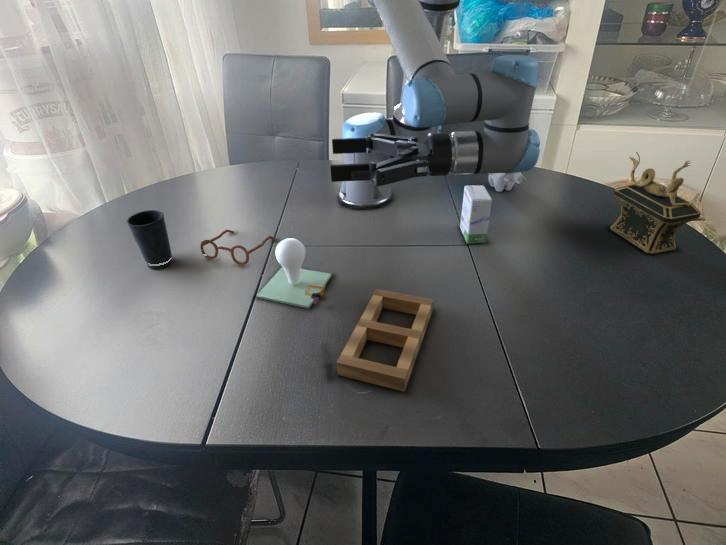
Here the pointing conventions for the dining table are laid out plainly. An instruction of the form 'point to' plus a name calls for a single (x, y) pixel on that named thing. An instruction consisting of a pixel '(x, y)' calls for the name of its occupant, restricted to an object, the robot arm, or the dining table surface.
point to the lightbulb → (291, 258)
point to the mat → (294, 288)
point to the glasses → (231, 248)
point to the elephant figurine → (505, 180)
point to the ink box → (475, 214)
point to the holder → (386, 340)
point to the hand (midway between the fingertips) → (331, 158)
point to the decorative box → (652, 211)
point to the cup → (151, 237)
